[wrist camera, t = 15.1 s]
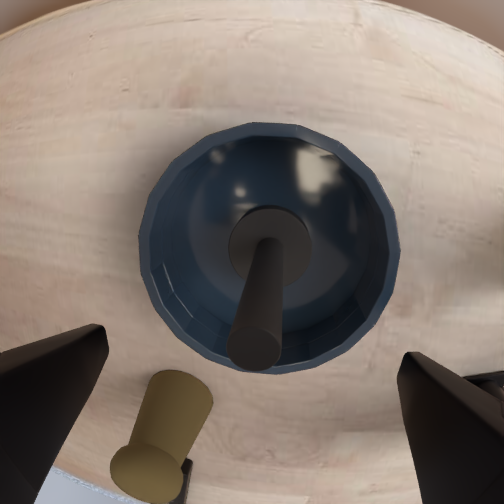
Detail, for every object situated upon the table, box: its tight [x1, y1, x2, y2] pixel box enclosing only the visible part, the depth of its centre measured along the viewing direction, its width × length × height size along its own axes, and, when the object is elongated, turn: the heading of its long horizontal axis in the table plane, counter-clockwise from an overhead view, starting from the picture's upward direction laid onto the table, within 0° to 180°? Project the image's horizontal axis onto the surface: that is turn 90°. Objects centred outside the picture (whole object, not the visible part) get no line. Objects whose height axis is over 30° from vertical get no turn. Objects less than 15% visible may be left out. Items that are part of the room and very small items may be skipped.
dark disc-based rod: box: [226, 205, 312, 371], centre depth 15 cm, size 5×5×12 cm
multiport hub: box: [151, 458, 193, 504], centre depth 29 cm, size 4×14×2 cm, turn 168°
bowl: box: [138, 122, 401, 375], centre depth 19 cm, size 14×14×4 cm
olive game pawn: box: [110, 370, 213, 504], centre depth 20 cm, size 6×6×11 cm
